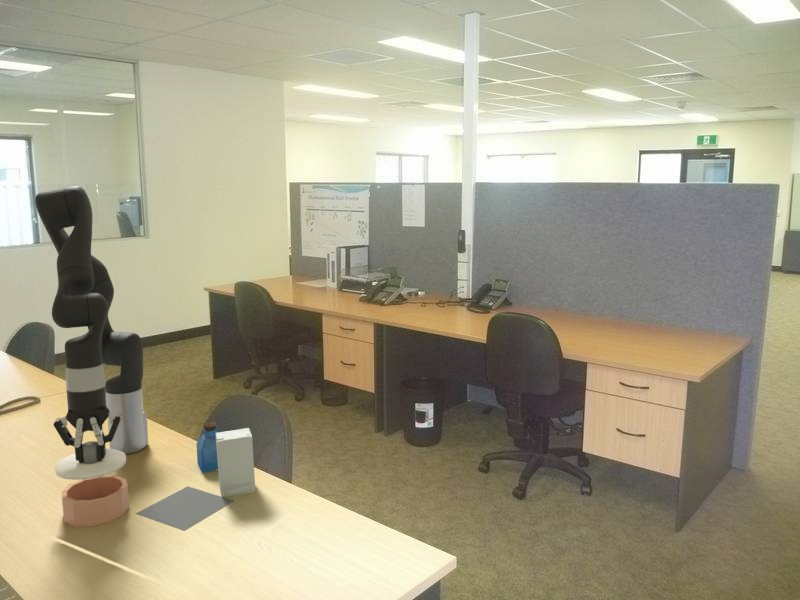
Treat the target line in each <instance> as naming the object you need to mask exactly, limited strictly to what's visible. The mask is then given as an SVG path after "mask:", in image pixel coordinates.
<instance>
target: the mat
mask: <svg viewBox="0 0 800 600" xmlns="http://www.w3.org/2000/svg"><path fill="white" fill-rule="evenodd" d="M233 502H235V500H234V499H231V498H228V497H221V495H217V494H214V493H211V492H208V491H205V490H201V489H198V488H194V487H191V486H189V485H188V486H186V487H184V488H182V489H180V490H178V491H175V492H173V494H172V493H171V494H170V495H168V496H166V497H164V498H162V499H161V500H159V501H157V502H155V503H153V504H150V505H148V506H147V507H144V508H143V509H141V510H139V511H137V512H135V514H136V515H138V516H142V517H144V518H147V519H149V520H153V521H155V522H159V523H162V524H163V525H166V526H167V525H168V526H170V527H172V528H175V529H178V530H181V531H184V532H185V531H186V530H188V529H190V528H192V527H193V526H195V525H197V524H199V523H200V522H201V521H204V520H205V519H207V518H208V517H210V516H212V515H213V514H215V513H218V512H219V511H221V510H222V509H223V508H225V507H227V506H228V505H231V503H232V504H233Z"/></svg>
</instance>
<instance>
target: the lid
mask: <svg viewBox="0 0 800 600" xmlns="http://www.w3.org/2000/svg"><path fill="white" fill-rule="evenodd" d="M97 445H98V442H97V440H95V441H94V440H93V441H92V440H91V441H87V442H82V454H83V463H79V461H77V460H76V456H75V453H73V454H71V455H68V456H66V457H63V458H62V459H60V460H59V461H58V462H56V464H55V465H54V468H55V469H54V470H55V471H54V472H55V474H56V476H57V477H59V478H61V479H65V480H74V481H75V480H77V481H79V480H82V479H90V478H96V477H100V476H104V475H109V474H110V475H111V474H112V473H114V472H116V471H119V470H120V469H122V468H123V467H124V466H125V464H126V463H127V454H125V453H123V452H122V451H119V450H115V449H110V448H106V455H105V457H104V458H103V459H102V461H98V454H97Z"/></svg>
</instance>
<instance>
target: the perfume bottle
mask: <svg viewBox="0 0 800 600" xmlns="http://www.w3.org/2000/svg"><path fill="white" fill-rule="evenodd" d="M202 430H203V431H202V432H203V434H202V435H200V437H199V439H198V441H197V442H196V454H197V455H196V456H197V457H196V461H197V463H196V464H197V466H198V468H199V470H200V472H201V474H202V473H208V472H209V473H210V472H213V471H212V470H214V471H217V470H216V469H218V459H217V447H216V433H218V427H217V423H216V422H215V421H214V422H213V421H212V422H211V421H210V422H209V421H208V422H206V423H204V424H203V429H202Z"/></svg>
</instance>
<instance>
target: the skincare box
mask: <svg viewBox="0 0 800 600" xmlns="http://www.w3.org/2000/svg"><path fill="white" fill-rule="evenodd" d="M253 445H254V444H253V435H252V432H251V429H250V428H249V427H246V428H245V427H243V428H240V429H233V430H227V431H220V432H219V431H217V433H216V447H217V459H218V470H217V472H218V482H219V483H218V485H219V490H220V491H219V492H220V496H221V497H224V498H227V497H231V496H238V495H244V494H249V493H256V481H255V480H256V479H255V478H256V477H255V476H256V475H255V464H254V463H255V462H254V446H253Z"/></svg>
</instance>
